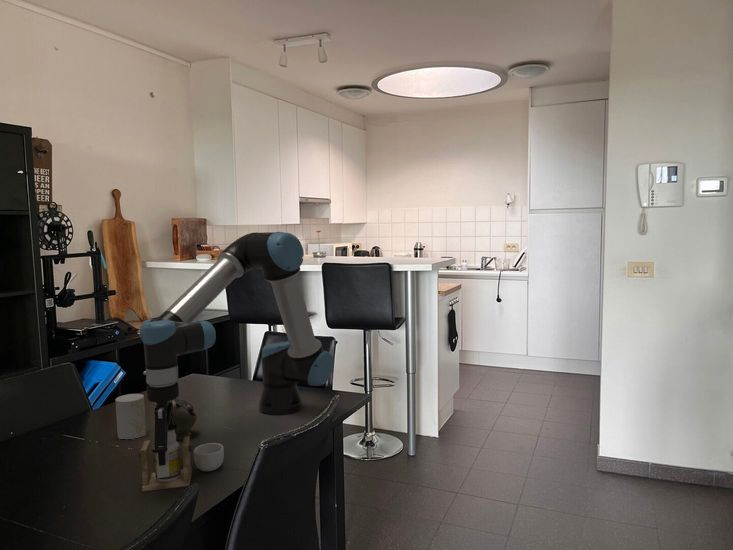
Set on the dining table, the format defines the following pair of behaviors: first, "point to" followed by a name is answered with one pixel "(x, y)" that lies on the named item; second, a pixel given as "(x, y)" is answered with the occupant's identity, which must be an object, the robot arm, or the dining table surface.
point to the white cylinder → (130, 416)
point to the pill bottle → (171, 459)
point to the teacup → (209, 456)
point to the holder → (150, 477)
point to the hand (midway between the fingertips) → (167, 465)
